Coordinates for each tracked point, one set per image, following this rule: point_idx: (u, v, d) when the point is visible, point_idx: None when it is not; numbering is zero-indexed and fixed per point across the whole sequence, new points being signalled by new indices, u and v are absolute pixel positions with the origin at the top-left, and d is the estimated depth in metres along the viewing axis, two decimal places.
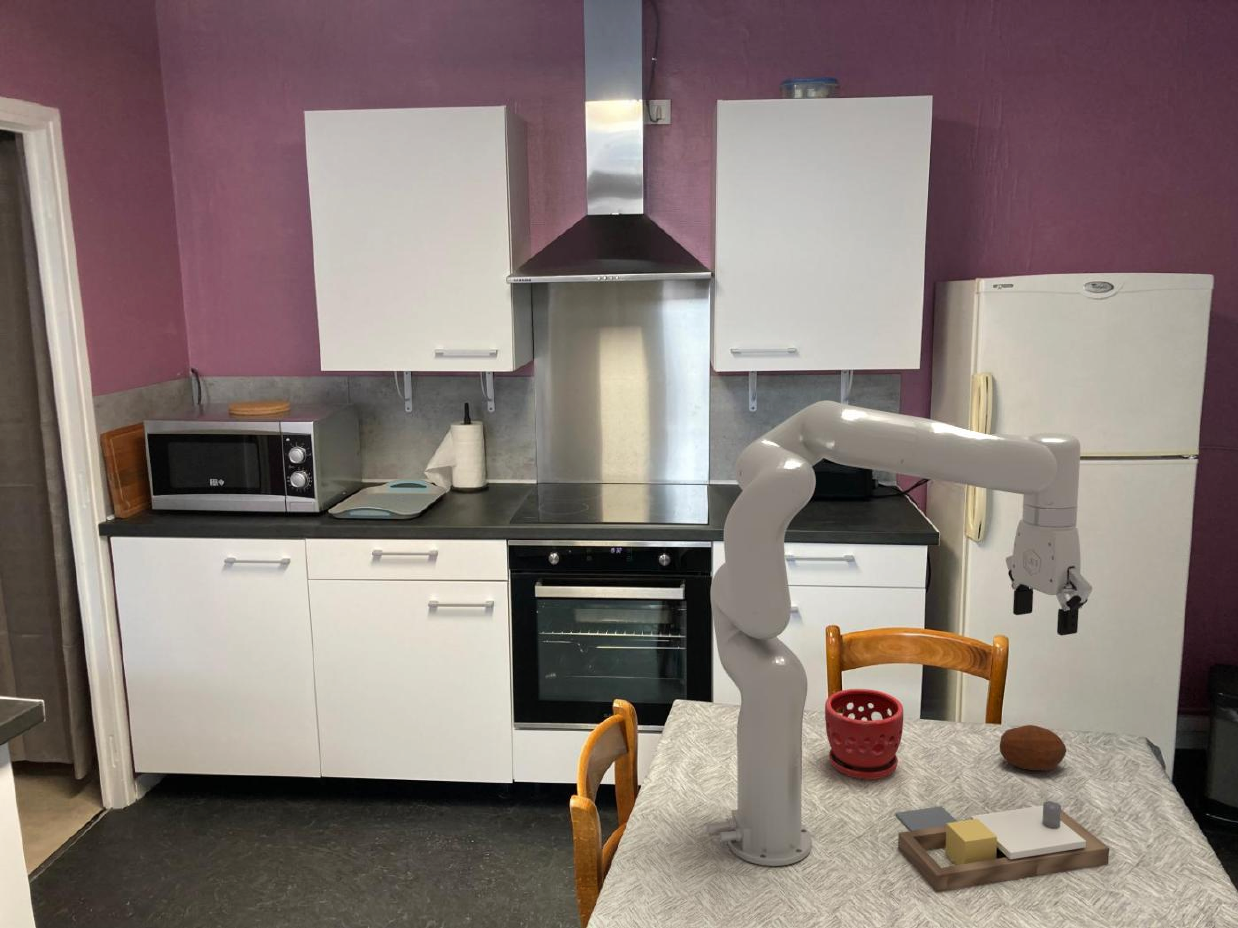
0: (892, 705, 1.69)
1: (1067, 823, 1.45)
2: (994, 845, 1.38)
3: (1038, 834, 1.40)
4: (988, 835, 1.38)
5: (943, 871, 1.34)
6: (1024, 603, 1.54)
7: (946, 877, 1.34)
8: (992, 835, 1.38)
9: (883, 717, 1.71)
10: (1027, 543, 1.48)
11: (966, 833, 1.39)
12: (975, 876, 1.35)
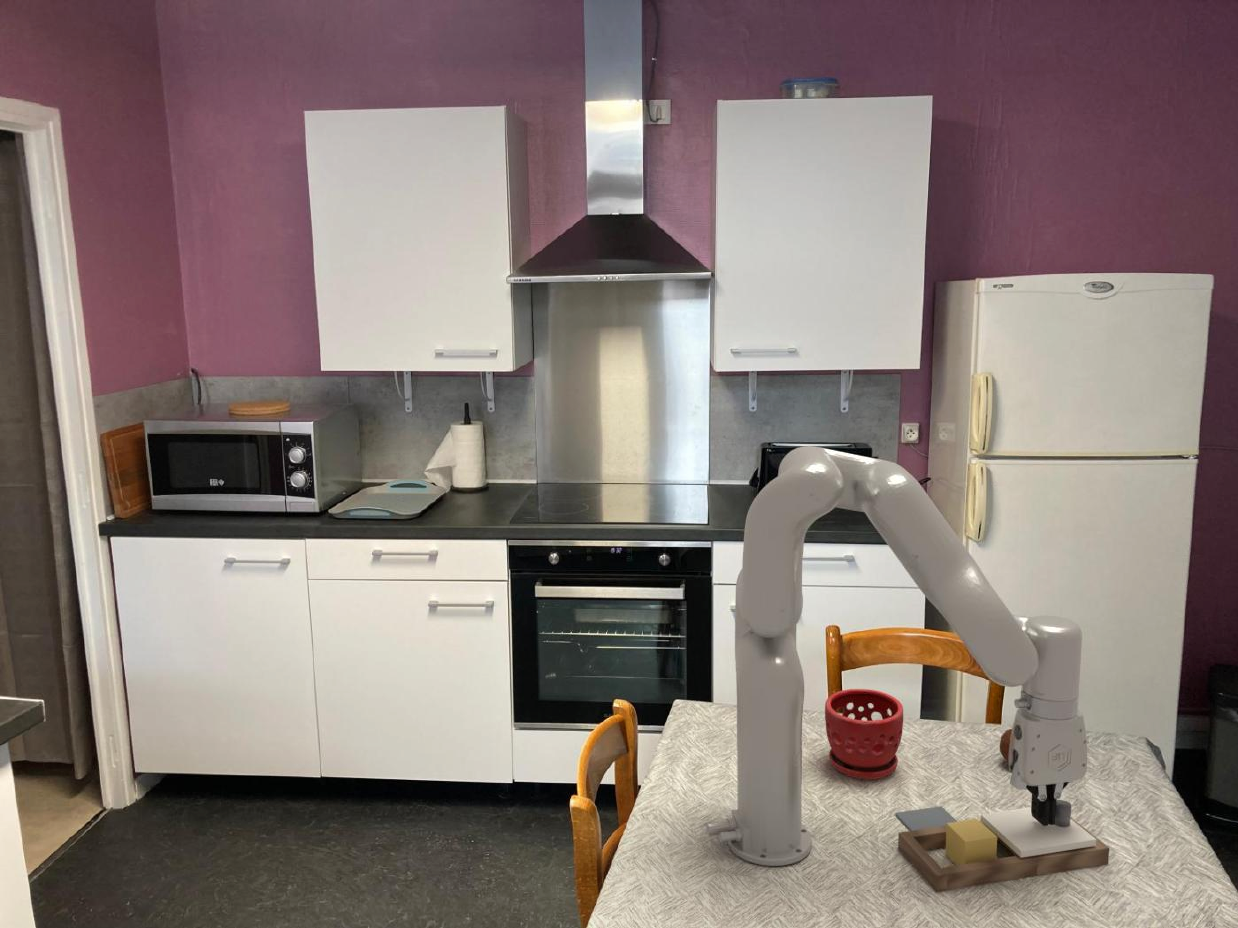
0: (892, 705, 1.69)
1: None
2: (994, 845, 1.38)
3: (1049, 832, 1.41)
4: (988, 836, 1.38)
5: (943, 871, 1.34)
6: None
7: (946, 877, 1.34)
8: (992, 835, 1.38)
9: (883, 717, 1.71)
10: (1052, 740, 1.37)
11: (966, 833, 1.39)
12: (975, 876, 1.35)
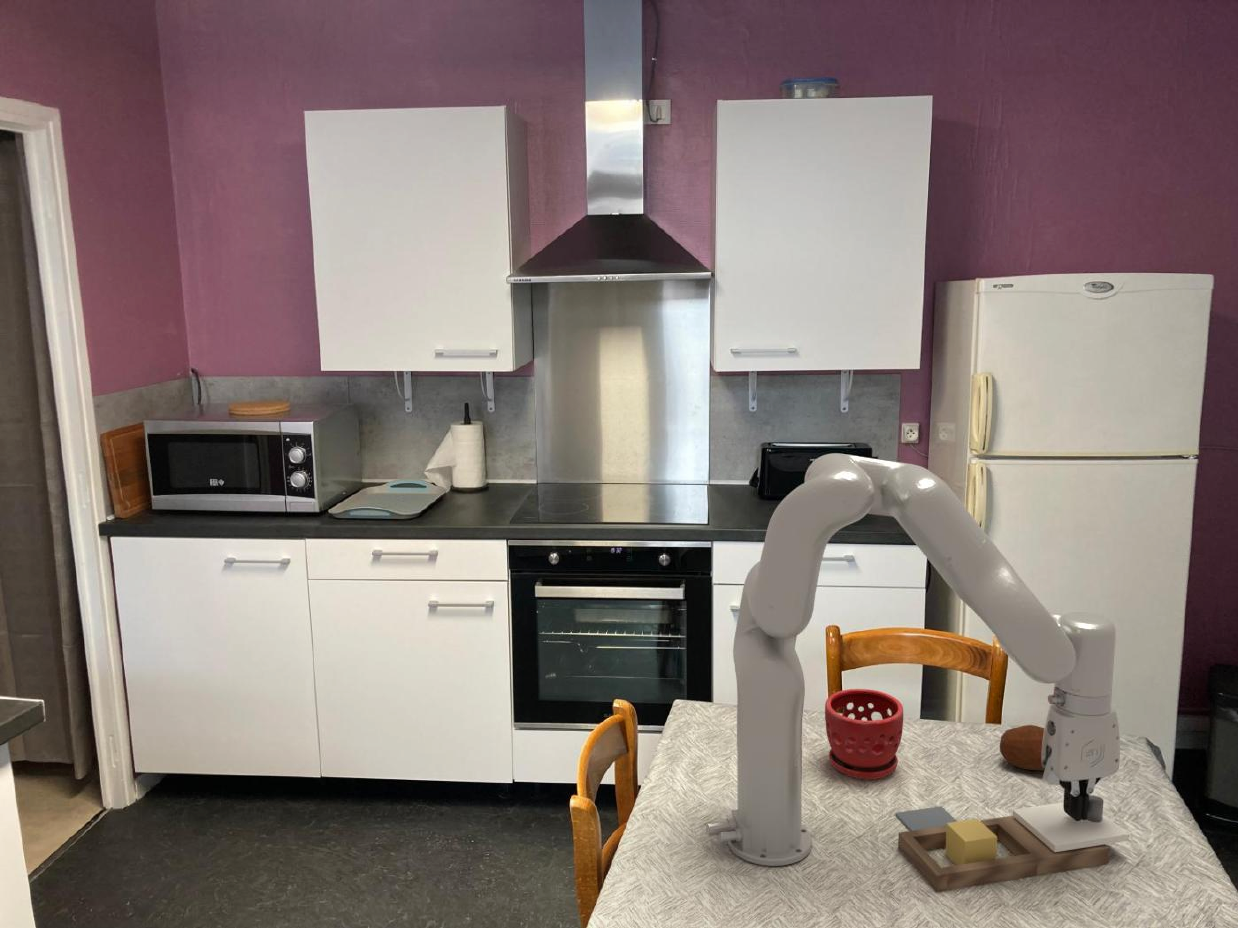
0: (892, 705, 1.69)
1: None
2: (994, 845, 1.38)
3: (1081, 827, 1.42)
4: (988, 835, 1.38)
5: (943, 871, 1.34)
6: None
7: (946, 877, 1.34)
8: (992, 835, 1.38)
9: (883, 717, 1.71)
10: (1086, 736, 1.38)
11: (966, 833, 1.39)
12: (975, 876, 1.35)
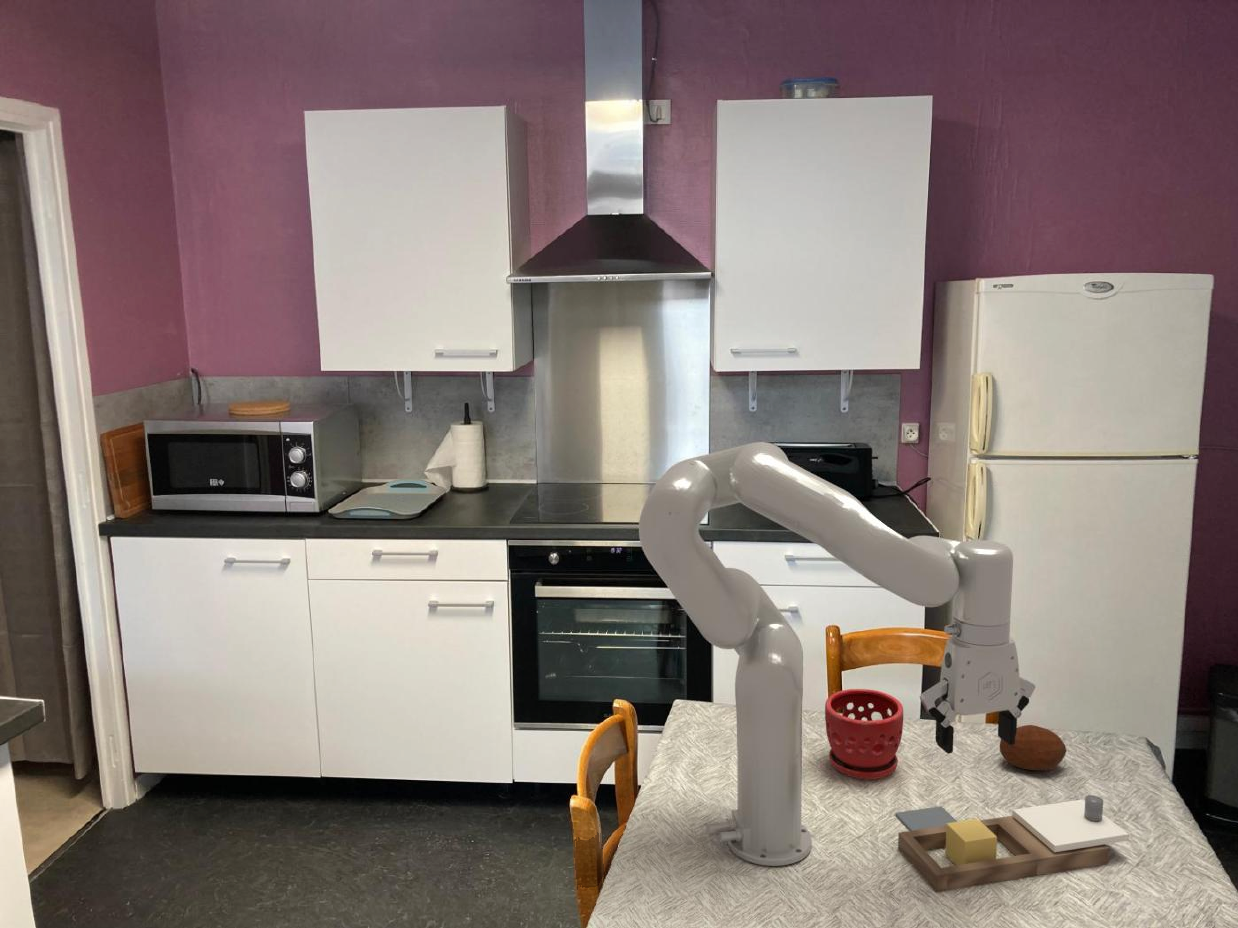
0: (892, 705, 1.69)
1: None
2: (994, 845, 1.38)
3: (1081, 827, 1.42)
4: (988, 836, 1.38)
5: (943, 871, 1.34)
6: None
7: (946, 877, 1.34)
8: (992, 835, 1.38)
9: (883, 717, 1.71)
10: (982, 667, 1.33)
11: (966, 833, 1.39)
12: (975, 876, 1.35)
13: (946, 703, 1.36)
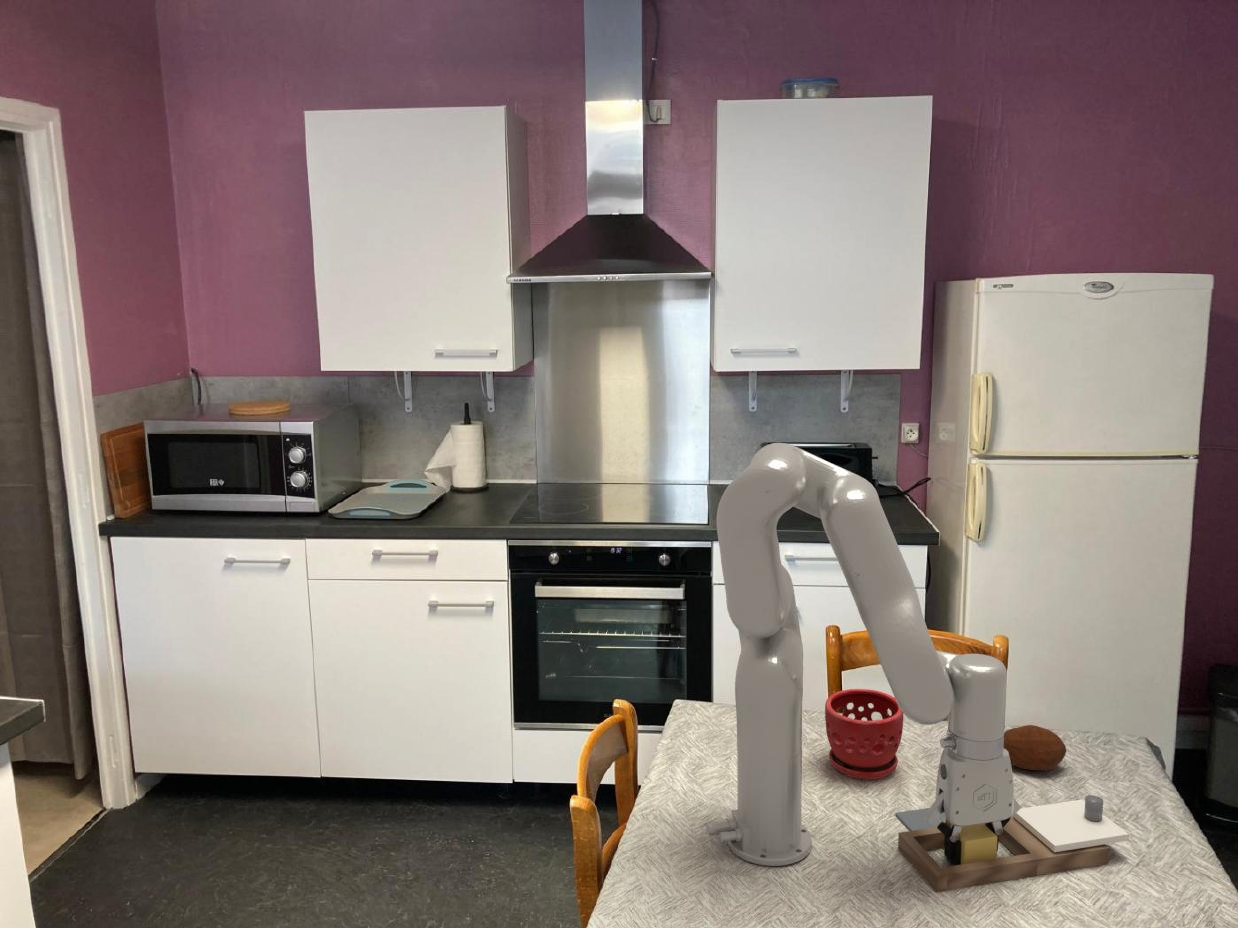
0: (892, 705, 1.69)
1: None
2: (994, 845, 1.38)
3: (1081, 827, 1.42)
4: (988, 835, 1.38)
5: (943, 871, 1.34)
6: None
7: (946, 877, 1.34)
8: (992, 835, 1.38)
9: (883, 717, 1.71)
10: (977, 780, 1.35)
11: (967, 833, 1.39)
12: (975, 876, 1.35)
13: None
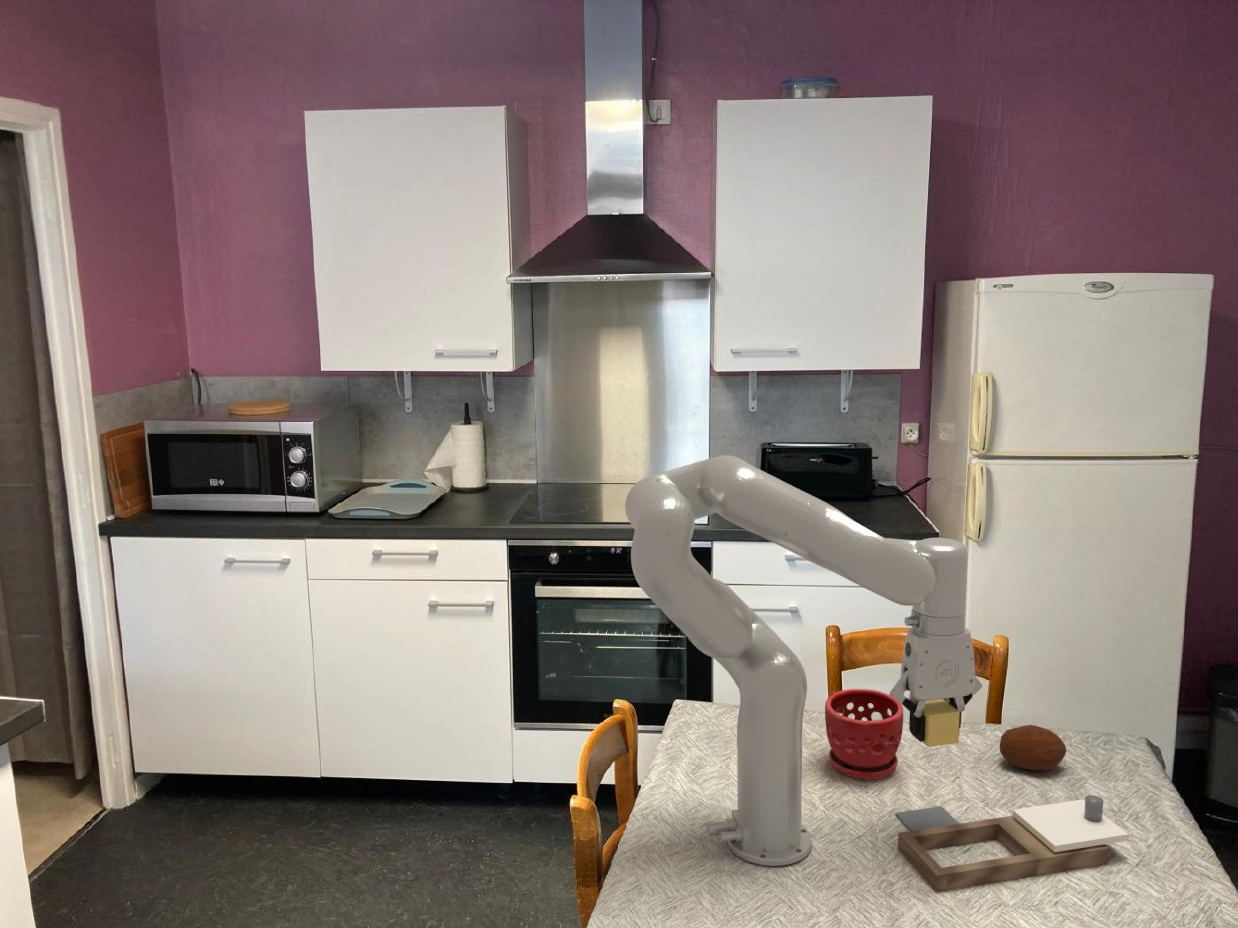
0: (892, 705, 1.69)
1: None
2: (957, 720, 1.45)
3: (1081, 827, 1.42)
4: (951, 711, 1.45)
5: (943, 871, 1.34)
6: None
7: (946, 877, 1.34)
8: (955, 710, 1.45)
9: (883, 717, 1.71)
10: (939, 656, 1.42)
11: (930, 709, 1.46)
12: (975, 876, 1.35)
13: None
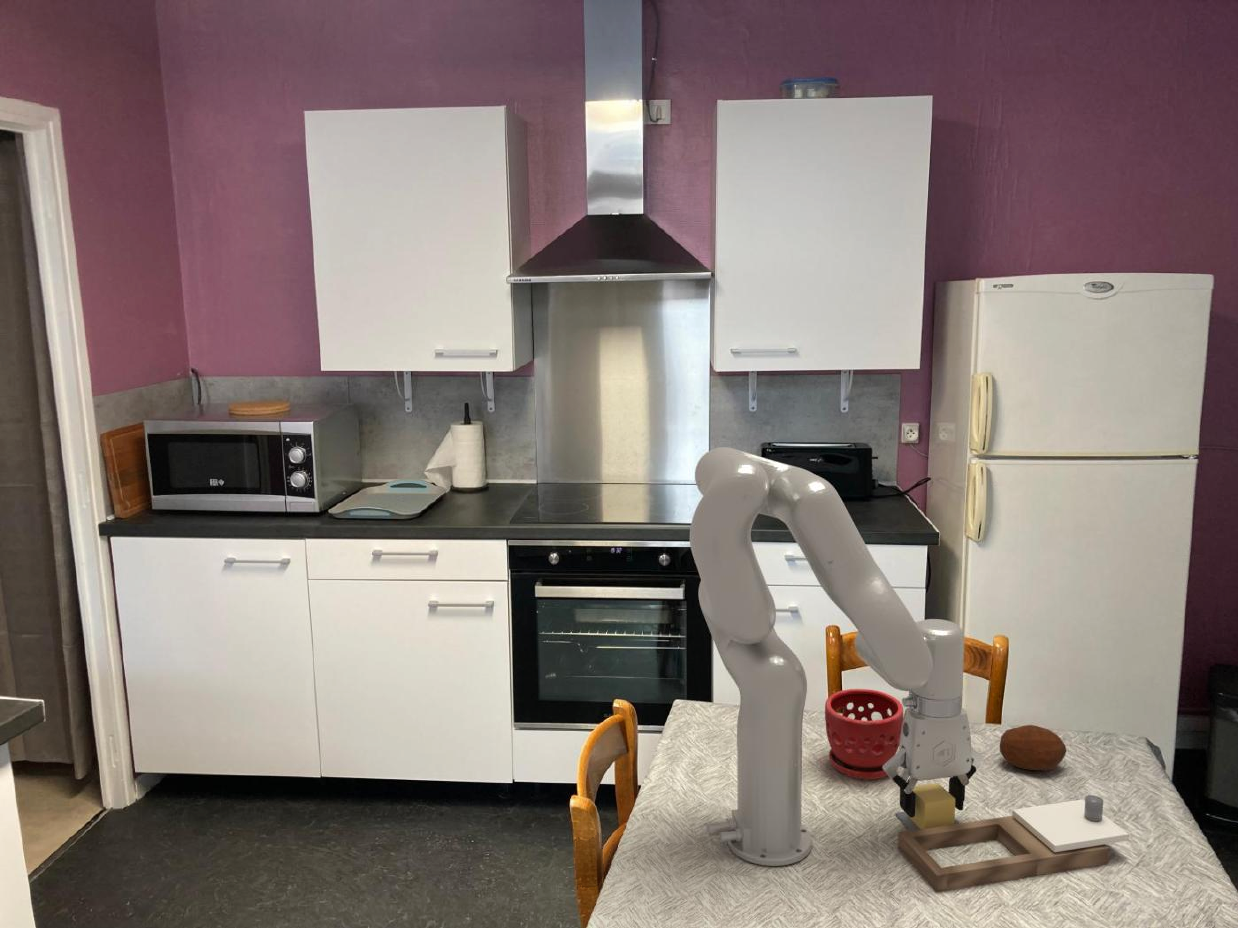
0: (892, 705, 1.69)
1: None
2: (952, 807, 1.48)
3: (1081, 827, 1.42)
4: (947, 798, 1.48)
5: (943, 871, 1.34)
6: None
7: (946, 877, 1.34)
8: (951, 797, 1.48)
9: (883, 717, 1.71)
10: (937, 737, 1.45)
11: (927, 796, 1.48)
12: (975, 876, 1.35)
13: (907, 770, 1.48)
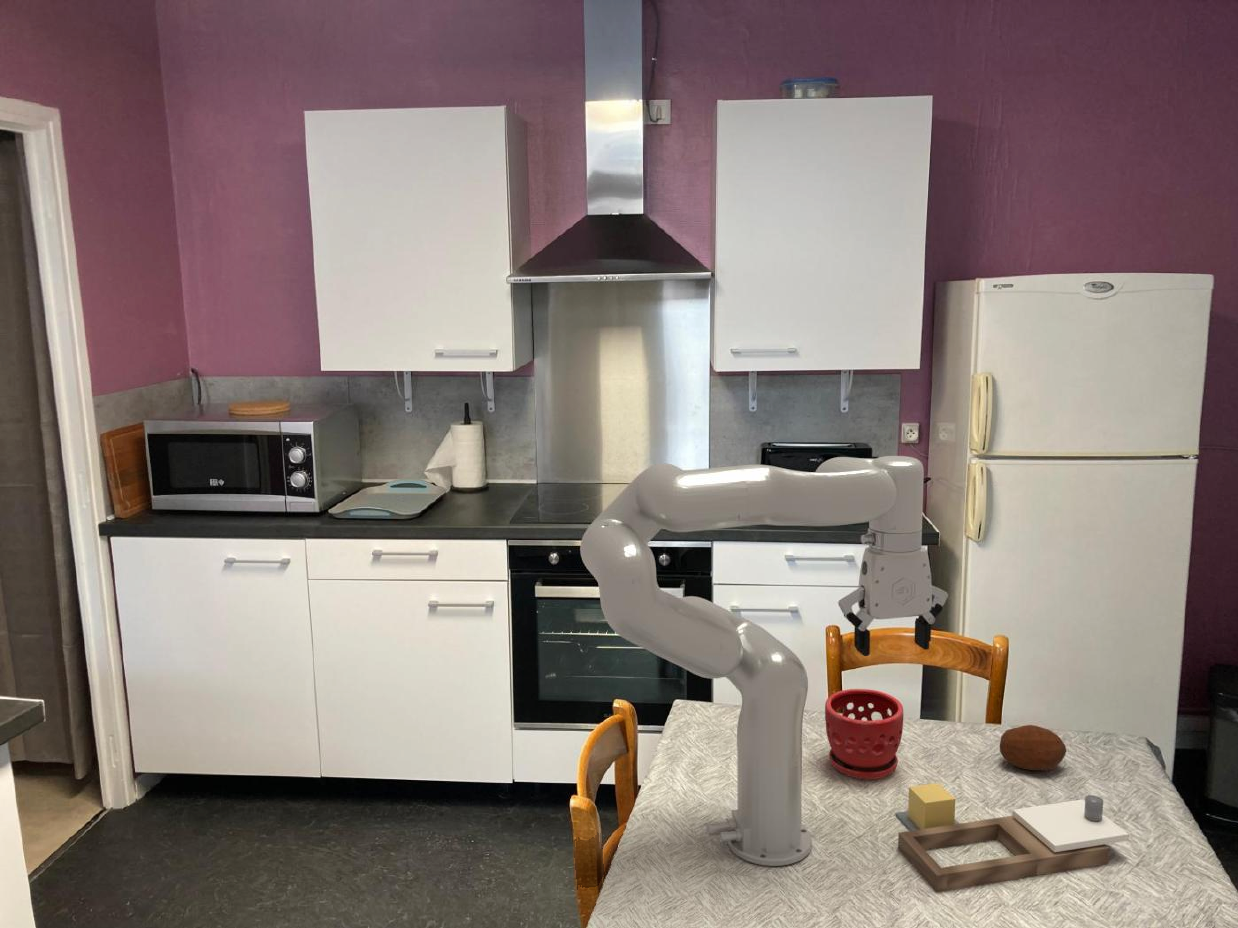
0: (892, 705, 1.69)
1: None
2: (952, 807, 1.48)
3: (1081, 827, 1.42)
4: (947, 798, 1.48)
5: (943, 871, 1.34)
6: None
7: (946, 877, 1.34)
8: (951, 797, 1.48)
9: (883, 717, 1.71)
10: (896, 574, 1.41)
11: (927, 796, 1.48)
12: (975, 876, 1.35)
13: (863, 609, 1.45)
